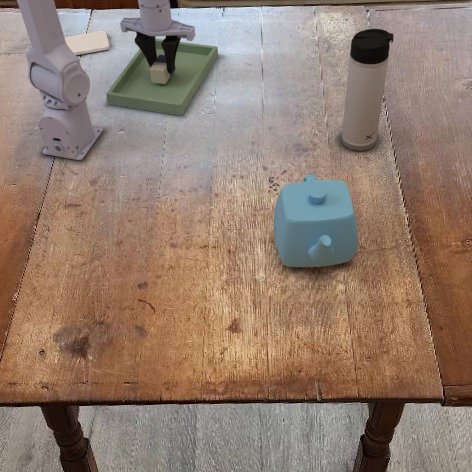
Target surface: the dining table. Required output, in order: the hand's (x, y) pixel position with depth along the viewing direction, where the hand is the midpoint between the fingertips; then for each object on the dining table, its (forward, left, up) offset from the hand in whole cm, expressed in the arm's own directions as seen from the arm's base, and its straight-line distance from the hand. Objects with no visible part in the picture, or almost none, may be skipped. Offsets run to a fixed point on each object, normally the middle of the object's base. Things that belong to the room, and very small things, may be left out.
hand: (163, 69), depth 135 cm
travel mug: (-9, -42, -3) cm, 43 cm away
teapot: (-39, -41, -3) cm, 57 cm away
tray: (+1, 0, -3) cm, 3 cm away
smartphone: (+8, +24, -3) cm, 26 cm away
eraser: (0, 0, -1) cm, 1 cm away
